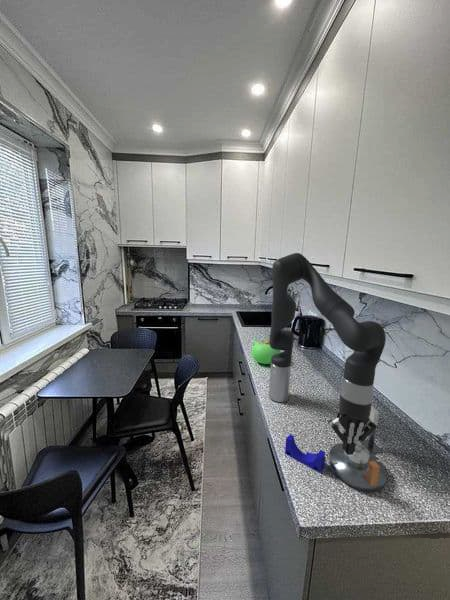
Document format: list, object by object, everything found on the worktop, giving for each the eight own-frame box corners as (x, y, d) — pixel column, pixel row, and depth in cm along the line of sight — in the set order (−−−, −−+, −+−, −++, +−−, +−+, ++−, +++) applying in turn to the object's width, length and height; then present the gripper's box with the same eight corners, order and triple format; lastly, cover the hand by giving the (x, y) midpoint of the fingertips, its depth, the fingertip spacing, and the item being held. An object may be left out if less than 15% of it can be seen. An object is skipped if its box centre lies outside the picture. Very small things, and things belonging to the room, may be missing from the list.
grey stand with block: (358, 442, 91) (364, 402, 88) (371, 441, 91) (377, 402, 88) (368, 455, 85) (375, 413, 82) (382, 454, 85) (389, 413, 83)
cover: (338, 452, 82) (340, 438, 81) (358, 451, 82) (360, 437, 81) (351, 470, 75) (353, 455, 74) (372, 469, 75) (375, 454, 74)
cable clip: (324, 465, 81) (326, 449, 80) (319, 474, 77) (321, 457, 76) (290, 446, 88) (291, 431, 87) (284, 454, 85) (286, 438, 84)
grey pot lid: (320, 448, 86) (322, 428, 84) (364, 447, 87) (367, 427, 85) (345, 492, 70) (349, 468, 68) (399, 490, 71) (403, 466, 70)
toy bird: (253, 368, 148) (254, 344, 146) (249, 356, 165) (250, 335, 162) (282, 368, 149) (284, 345, 146) (276, 356, 166) (277, 336, 163)
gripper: (339, 403, 61) (331, 464, 64) (389, 403, 62) (380, 462, 65) (325, 388, 69) (319, 442, 72) (370, 387, 70) (362, 441, 73)
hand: (348, 452), depth 69 cm, fingers closed
